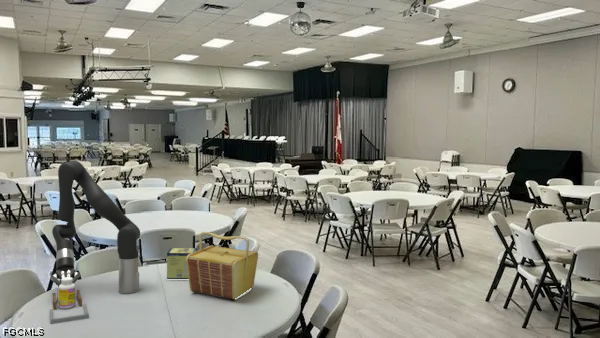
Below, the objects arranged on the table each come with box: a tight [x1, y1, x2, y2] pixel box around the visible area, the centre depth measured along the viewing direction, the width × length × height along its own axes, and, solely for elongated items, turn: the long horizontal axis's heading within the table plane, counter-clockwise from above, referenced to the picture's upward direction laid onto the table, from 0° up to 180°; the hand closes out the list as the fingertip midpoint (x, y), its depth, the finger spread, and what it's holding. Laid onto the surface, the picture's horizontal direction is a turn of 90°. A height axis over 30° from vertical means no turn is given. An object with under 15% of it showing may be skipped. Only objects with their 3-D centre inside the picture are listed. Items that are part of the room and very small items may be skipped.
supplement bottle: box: [58, 277, 76, 310], centre depth 208 cm, size 7×7×13 cm
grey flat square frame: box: [49, 304, 90, 325], centre depth 198 cm, size 14×13×2 cm
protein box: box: [166, 247, 198, 280], centre depth 254 cm, size 10×16×16 cm
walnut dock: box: [52, 289, 83, 311], centre depth 212 cm, size 11×13×4 cm
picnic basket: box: [186, 231, 259, 300], centre depth 233 cm, size 29×26×30 cm
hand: (66, 293), depth 211 cm, fingers closed
